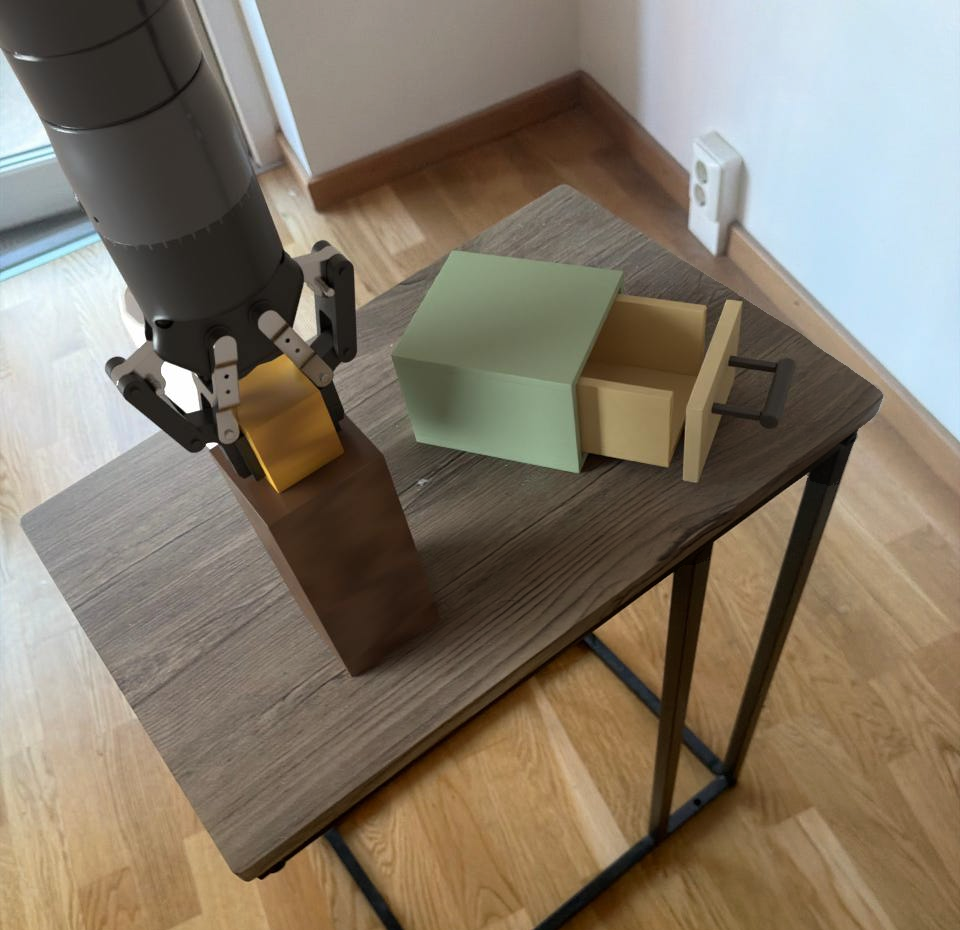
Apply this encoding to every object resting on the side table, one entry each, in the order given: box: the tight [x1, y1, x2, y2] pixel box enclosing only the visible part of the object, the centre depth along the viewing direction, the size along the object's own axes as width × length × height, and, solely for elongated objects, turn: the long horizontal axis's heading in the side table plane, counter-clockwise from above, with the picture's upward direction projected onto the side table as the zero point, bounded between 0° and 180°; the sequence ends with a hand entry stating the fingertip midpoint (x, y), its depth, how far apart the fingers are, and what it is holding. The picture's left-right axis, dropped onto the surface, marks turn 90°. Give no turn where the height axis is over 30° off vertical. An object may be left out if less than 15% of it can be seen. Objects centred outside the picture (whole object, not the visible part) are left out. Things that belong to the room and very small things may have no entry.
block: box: [237, 354, 344, 493], centre depth 54 cm, size 5×5×5 cm
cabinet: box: [390, 249, 625, 474], centre depth 76 cm, size 15×13×10 cm
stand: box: [208, 412, 441, 678], centre depth 63 cm, size 8×8×18 cm
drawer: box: [576, 294, 797, 484], centre depth 72 cm, size 18×11×8 cm, turn 68°
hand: (292, 447), depth 55 cm, fingers closed on block, 4 cm apart
